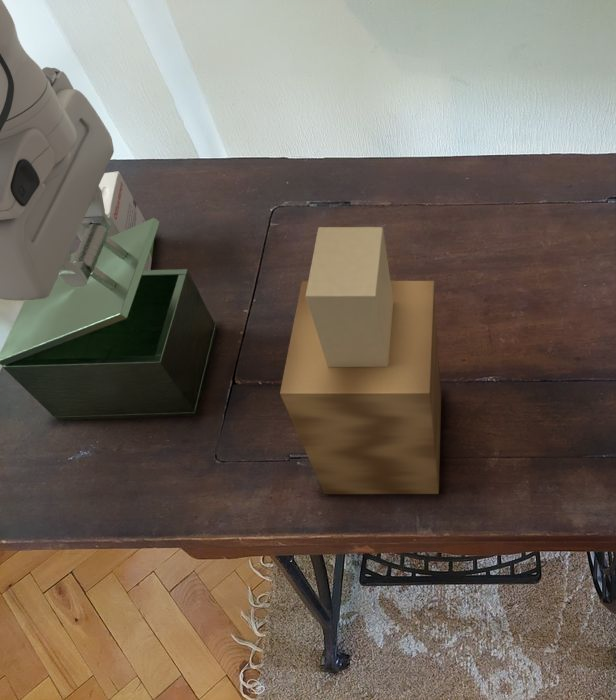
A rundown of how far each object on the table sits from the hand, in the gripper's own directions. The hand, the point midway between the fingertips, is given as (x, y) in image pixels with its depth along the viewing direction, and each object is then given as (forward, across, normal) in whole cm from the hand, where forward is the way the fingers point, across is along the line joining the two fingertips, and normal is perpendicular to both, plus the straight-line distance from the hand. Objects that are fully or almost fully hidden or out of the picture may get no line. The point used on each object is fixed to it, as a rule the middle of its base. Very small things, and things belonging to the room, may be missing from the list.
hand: (91, 255), depth 61 cm
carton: (0, +10, +26) cm, 28 cm away
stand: (+20, +10, +26) cm, 34 cm away
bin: (+20, 0, -3) cm, 20 cm away
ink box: (+20, -18, -9) cm, 28 cm away
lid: (+5, 0, -3) cm, 6 cm away
